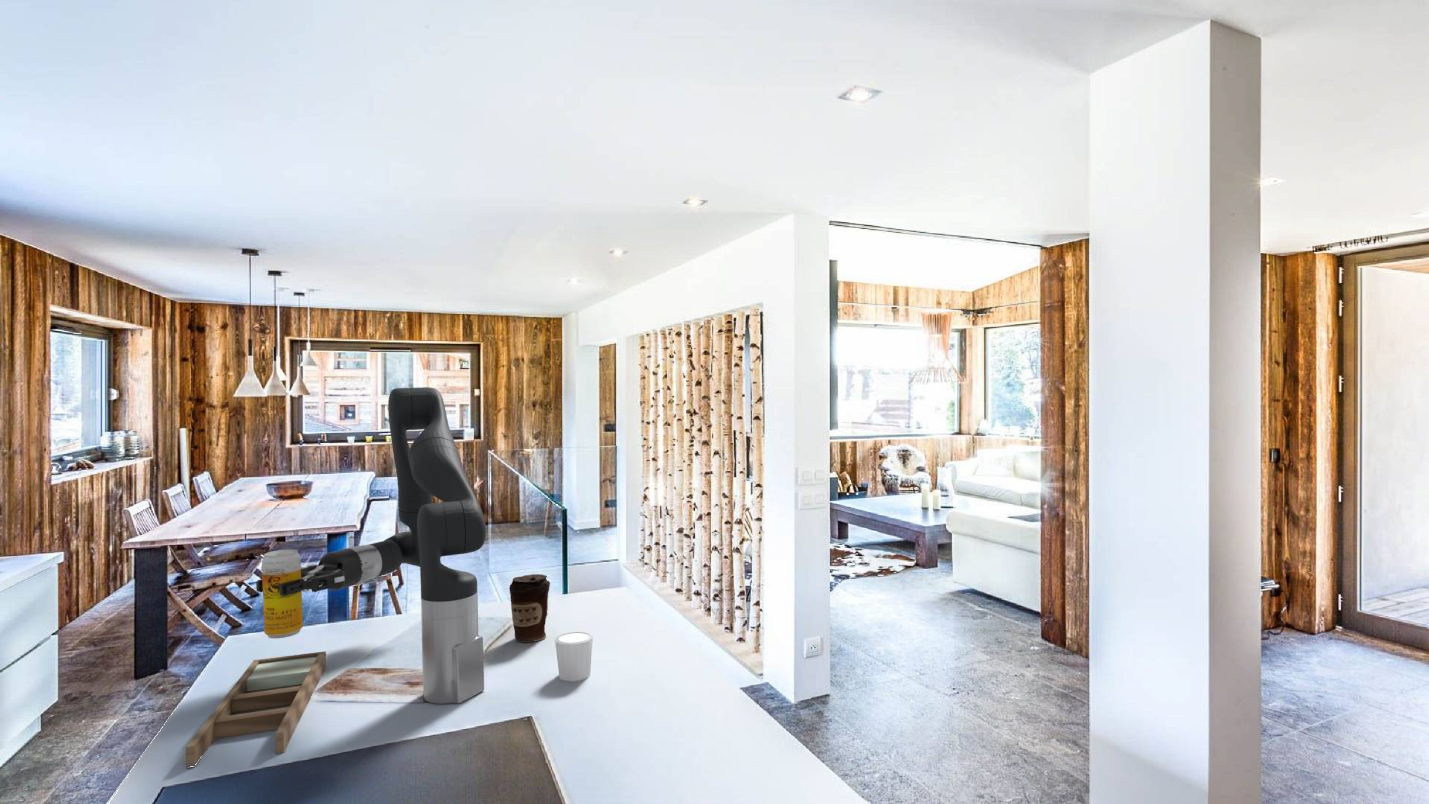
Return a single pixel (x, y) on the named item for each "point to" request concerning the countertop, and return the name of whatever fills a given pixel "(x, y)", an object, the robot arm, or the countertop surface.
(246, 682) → the brown wooden flat frame
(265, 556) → the beer can
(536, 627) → the coffee cup
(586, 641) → the white cup
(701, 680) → the countertop surface
